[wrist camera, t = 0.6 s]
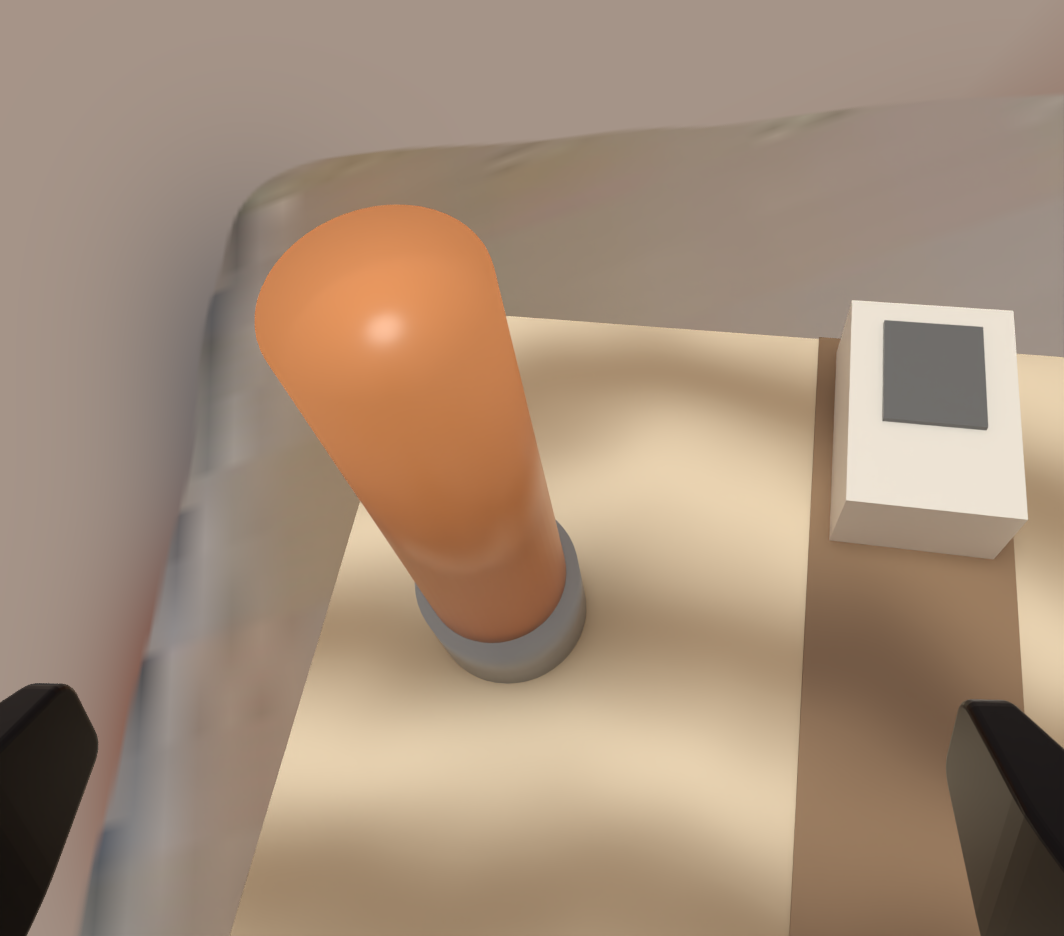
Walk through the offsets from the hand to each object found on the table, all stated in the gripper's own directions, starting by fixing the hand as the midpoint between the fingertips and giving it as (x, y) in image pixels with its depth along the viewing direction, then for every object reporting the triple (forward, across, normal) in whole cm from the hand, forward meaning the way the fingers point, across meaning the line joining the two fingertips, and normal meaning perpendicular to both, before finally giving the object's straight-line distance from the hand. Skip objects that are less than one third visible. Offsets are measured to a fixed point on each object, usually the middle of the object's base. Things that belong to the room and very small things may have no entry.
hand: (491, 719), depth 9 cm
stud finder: (+16, -9, +6) cm, 19 cm away
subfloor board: (+11, -5, +11) cm, 16 cm away
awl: (+12, +2, +9) cm, 15 cm away
